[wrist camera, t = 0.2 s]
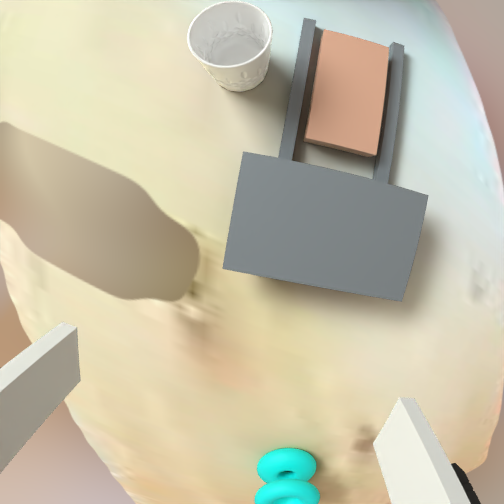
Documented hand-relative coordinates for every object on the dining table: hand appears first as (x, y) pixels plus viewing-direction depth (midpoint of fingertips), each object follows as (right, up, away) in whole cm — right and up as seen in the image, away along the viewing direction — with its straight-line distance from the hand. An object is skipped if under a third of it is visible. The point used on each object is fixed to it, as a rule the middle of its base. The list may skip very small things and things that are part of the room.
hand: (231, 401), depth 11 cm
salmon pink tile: (+12, +24, +22) cm, 35 cm away
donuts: (+7, -30, +35) cm, 47 cm away
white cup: (-1, +28, +23) cm, 36 cm away
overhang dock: (+11, +18, +24) cm, 32 cm away
